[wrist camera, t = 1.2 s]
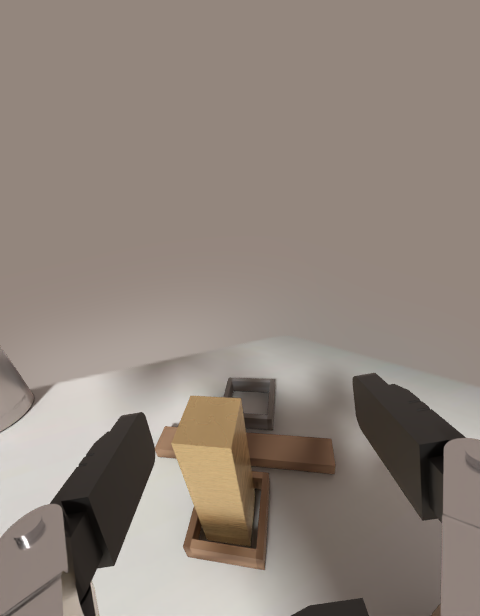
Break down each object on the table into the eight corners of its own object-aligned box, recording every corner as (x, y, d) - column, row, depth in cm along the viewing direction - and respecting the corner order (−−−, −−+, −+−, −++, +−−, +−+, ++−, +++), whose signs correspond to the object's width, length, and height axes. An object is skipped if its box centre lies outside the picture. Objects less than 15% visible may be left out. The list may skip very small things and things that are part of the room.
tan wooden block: (206, 539, 24) (171, 443, 17) (217, 492, 27) (190, 395, 21) (250, 546, 23) (231, 448, 16) (255, 496, 27) (240, 398, 20)
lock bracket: (119, 544, 24) (112, 535, 23) (188, 385, 41) (186, 376, 40) (350, 585, 21) (352, 574, 20) (322, 391, 37) (323, 381, 36)
